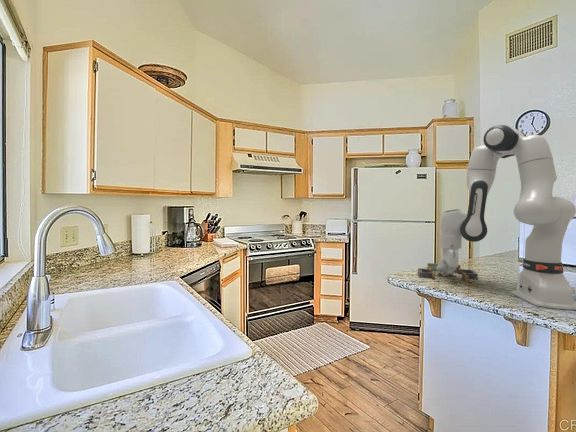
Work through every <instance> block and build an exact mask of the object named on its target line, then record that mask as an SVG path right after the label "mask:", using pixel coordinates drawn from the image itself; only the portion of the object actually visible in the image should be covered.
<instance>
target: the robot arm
mask: <svg viewBox="0 0 576 432" xmlns="http://www.w3.org/2000/svg"><path fill="white" fill-rule="evenodd" d="M482 142H483V144H482V145H478V146H476V147H474V148H473V149H472V152H471V154H470V157H469V159H468V164H467V170H466V185H467V189H468V193H469V199H468V200H469V201H468V207H467V213H466V212H464V211H463V210H461V209H459V208H458V209H450V210H446V211H444V212H443V213H442V215H441V221H440V230H441V234H440V245H439V246H440V248H441V249H442V260H445V262H446V263H447V268H448V269H447V272H448V273H449V274H452V273H453V267H458V265H459V250H460V249H462V243H463V242H462V241H463V239H465V240H466V241H469V242H471V243H472V242H473V243H476V242H480V241H482V240H483V239H484V238H486V236H487V234H488V227H487V223H486V221H485V212H486V203H487V199H488V195H489V193H490V191H491V189H492V187H493V184H494V180H495V178H496V172H497V165H498V162H499V160H500V159H506V158H509V157H514V156H515V159H516V163H517V167H518V175H519V178H520V179H519V180H520V194H519V199H518V201H517V202H516V204H515V206H514V207H513V214H514V217H515V219H516V220H517V221H518V222H520V223H522V224H525V225H529V226H533V228H532V230H531V232H530V233H529V235H528V236H527V237H526V238H525V243H524V244H525V245H524V246H525V247H524V258H523V260H522V268H523V269H522V270H521V271H519V273H518V275H517V282H516V283H517V284H516V290H512V291H511V294H512V295H514V296H516V297H518V298H519V299H522V300H524V301H525V302H528V303H529V304H532V305H534V306H537V307H543V308H548V309H556V310H557V309H558V310H569V311H570V310H572V311H574V310H575V311H576V300H575V299H574V294H575V293H576V287H574V286H571V285H570V283H569V281H568V280H567V278H566V277H565V275H564V272H565V271H564V266H563V262H562V252H563V251H562V250H563V242H564V238H565V235H566V232H567V229H568V227H569V224H570V222H571V221H572V219H574V217H575V215H576V206H575V204H574V203H573V202H572V201H571V200H569V199H566V198H564V197H560V196H553V189H554V185H555V182H556V181H557V176H558V175H557V171H556V168H555V163H554V158H553V153H552V151H551V148H550V146H549V143H548V142H547V139H546V138H545V137H544V136H543V135H542V134H541V135H540V134H531V135H527V134H526V133H524V132H522V131H521V130H519V129H517V128H515V127H513V126H512V127H511V126H508V125H506V124H497V125H493V126H492V127H489V129H487V130H486V131H485V133H484V135H483V141H482ZM462 238H463V239H462Z"/></svg>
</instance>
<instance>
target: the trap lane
mask: <svg viewBox="0 0 576 432" xmlns="http://www.w3.org/2000/svg"><path fill="white" fill-rule="evenodd" d="M426 264H427V266H426V268H420V267H418V269H417V274H418V276H419V277H418V278H421V279H431V280H436V277H435V276H436V274H435V271H437V272H438V273H440V272H439V271H438V270H437V269H436V268H437V265H438V263H433V262H427V263H426ZM454 274H458V275H460V274H461V278H462V279H463V281H464V280H465V281H466V282H465V281H464V282H465V283H469V282H470V280H478V279H479V278H478V277H479V276H478V275H479V274H478V273H477V272H476V271H474V269H466V268H461V264H458V267H456V269H455V271H454Z"/></svg>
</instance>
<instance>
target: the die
mask: <svg viewBox="0 0 576 432" xmlns="http://www.w3.org/2000/svg"><path fill="white" fill-rule="evenodd" d="M437 264H438V265H437V268H436V269H437V270H438V271H439V272H438V273H440V274H441V275H442V276H443V277H450V276H451V277H452V275H454V274H455V273H454V271H455V269H456V267H453V273H452V274H449V273H448V272H447V269H448V268H447V263H446V262H445V260H444V259H439V261H438V263H437Z"/></svg>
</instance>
